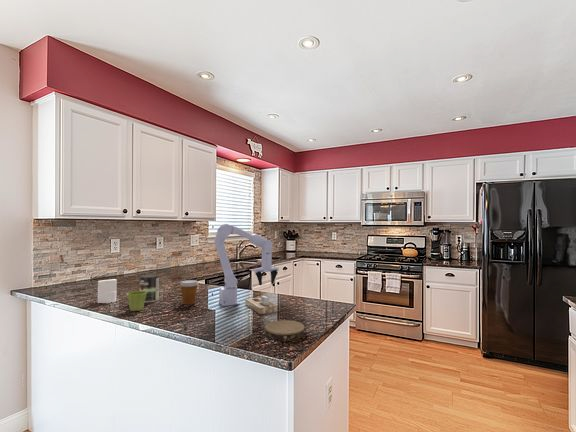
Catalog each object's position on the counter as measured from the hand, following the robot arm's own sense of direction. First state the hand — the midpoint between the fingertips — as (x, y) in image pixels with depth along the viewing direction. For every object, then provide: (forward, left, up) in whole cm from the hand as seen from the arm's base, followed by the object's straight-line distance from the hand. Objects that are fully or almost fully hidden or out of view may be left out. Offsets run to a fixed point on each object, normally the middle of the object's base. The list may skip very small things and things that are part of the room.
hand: (266, 284), depth 171 cm
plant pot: (-66, +15, -10) cm, 68 cm away
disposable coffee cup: (-40, +16, -10) cm, 44 cm away
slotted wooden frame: (-9, -12, -9) cm, 18 cm away
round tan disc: (-15, -50, -10) cm, 53 cm away
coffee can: (-59, +33, -10) cm, 68 cm away
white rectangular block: (-80, +41, -10) cm, 90 cm away
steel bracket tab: (-9, -17, -10) cm, 21 cm away
